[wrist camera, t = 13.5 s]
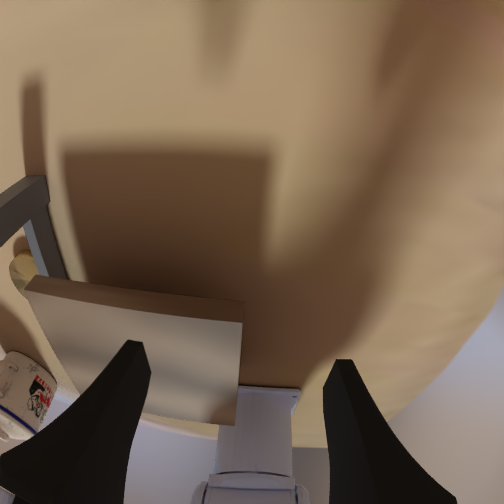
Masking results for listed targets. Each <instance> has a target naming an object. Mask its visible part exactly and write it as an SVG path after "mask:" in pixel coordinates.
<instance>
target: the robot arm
mask: <svg viewBox="0 0 504 504" xmlns="http://www.w3.org/2000/svg"><path fill="white" fill-rule="evenodd" d="M151 373H152V372H151V369H150V365H149V362H148V359H147V355H146V352H145V348H144V345H143V342H140V341H134V340H129V339H128V340H127V341H126V342H125V343H124V344H123V346H122V347H121V348H120V349H119V351H118V352H117V353H116V355H115V356H114V357H113V358H112V360H111V361H110V362H109V363H108V365H107V366H106V367H105V368H104V369H103V371H102V372H101V373H100V374H99V375H98V377H97V378H96V379H95V380H94V381H93V382H92V384H91V385H90V386H89V387H88V388H87V389H86V390H85V391H84V392H83V393H82V394H81V396H80V397H79V398H78V399H77V400H76V401H75V402H74V403H73V404H72V405H71V406H70V407H69V408H68V409H66V410H65V411H64V412H63V413H62V414H61V415H60V416H59V417H57V418H56V419H55V420H54V421H53V422H52V423H50V424H49V425H48V426H46V427H45V428H44V429H43V430H41V431H40V432H38V433H37V434H35V435H34V436H32V437H31V438H29V439H28V440H26V441H25V442H23V443H21V444H20V445H18V446H16V447H14V448H12V449H11V450H9V451H7V452H5V453H3V454H1V456H0V486H2V487H3V488H5V489H7V490H8V491H10V492H11V493H9V492H7V491H5V490H4V489H2V488H0V504H123V501H124V490H125V481H126V473H127V466H128V460H129V454H130V449H131V445H132V441H133V438H134V435H135V432H136V428H137V425H138V422H139V419H140V416H141V413H142V410H143V407H144V403H145V400H146V397H147V393H148V388H149V383H150V378H151ZM300 395H301V391H300V390H299V389H285V388H266V387H251V386H238V397H237V408H236V419H235V426H228V425H219V431H218V440H217V448H216V458H215V465H214V474H209V481H208V482H206V481H203V482H201V483H200V484H199V485H198V486H197V487H196V488H195V490H194V492H193V495H192V499H191V504H310V502H309V494H308V491H307V490H306V489H305V488H304V487H303V486H302V485H295V477H292V430H291V417H292V414H293V412H294V410H295V407H296V405H297V402H298V400H299V397H300ZM323 413H324V421H325V429H326V436H327V444H328V452H329V460H330V496H329V504H457V500H456V497H455V496H453V495H452V494H451V493H449V492H448V491H447V490H445V489H444V488H443V487H442V486H441V485H440V484H438V483H437V482H436V481H435V480H434V479H433V478H432V477H431V476H430V475H429V474H428V473H427V472H426V471H425V470H424V469H423V468H422V467H421V466H420V465H419V464H418V463H417V462H416V461H415V459H414V458H413V457H412V456H411V455H410V454H409V452H408V451H407V450H406V449H405V447H404V446H403V445H402V444H401V442H400V441H399V440H398V438H397V437H396V435H395V434H394V433H393V431H392V430H391V428H390V427H389V425H388V424H387V422H386V421H385V419H384V417H383V416H382V414H381V412H380V411H379V409H378V407H377V406H376V404H375V402H374V400H373V399H372V397H371V395H370V393H369V392H368V390H367V388H366V386H365V384H364V382H363V380H362V378H361V376H360V374H359V372H358V370H357V368H356V366H355V364H354V362H353V361H352V360H351V359H336V361H335V363H334V365H333V367H332V369H331V372H330V374H329V376H328V378H327V380H326V382H325V385H324V387H323ZM12 493H13V494H12ZM14 494H15V495H14Z"/></svg>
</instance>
